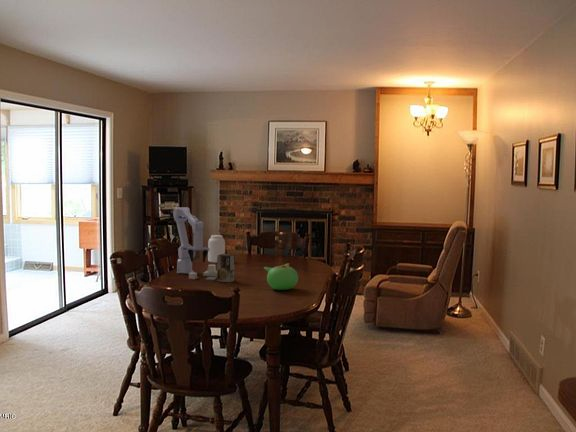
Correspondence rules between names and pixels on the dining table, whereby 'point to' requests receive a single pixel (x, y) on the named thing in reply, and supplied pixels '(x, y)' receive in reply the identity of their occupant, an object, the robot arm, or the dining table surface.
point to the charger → (211, 268)
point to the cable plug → (193, 275)
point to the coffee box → (225, 268)
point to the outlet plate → (209, 274)
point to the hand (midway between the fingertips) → (197, 261)
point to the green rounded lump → (281, 277)
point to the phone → (211, 278)
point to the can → (215, 247)
